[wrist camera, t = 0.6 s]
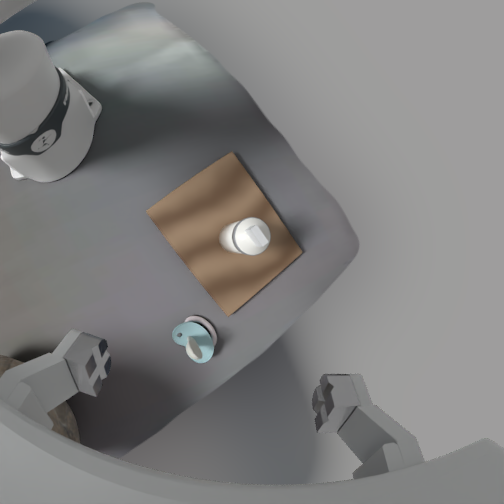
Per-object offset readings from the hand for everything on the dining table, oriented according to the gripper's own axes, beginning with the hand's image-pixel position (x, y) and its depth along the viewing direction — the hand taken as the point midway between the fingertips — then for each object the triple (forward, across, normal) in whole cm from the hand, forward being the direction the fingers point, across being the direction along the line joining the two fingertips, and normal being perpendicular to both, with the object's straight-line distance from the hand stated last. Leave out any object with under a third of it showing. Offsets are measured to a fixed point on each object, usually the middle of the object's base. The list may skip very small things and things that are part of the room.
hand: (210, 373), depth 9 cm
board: (+33, +2, +6) cm, 34 cm away
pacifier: (+26, +4, +22) cm, 34 cm away
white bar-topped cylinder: (+32, +1, +7) cm, 33 cm away
